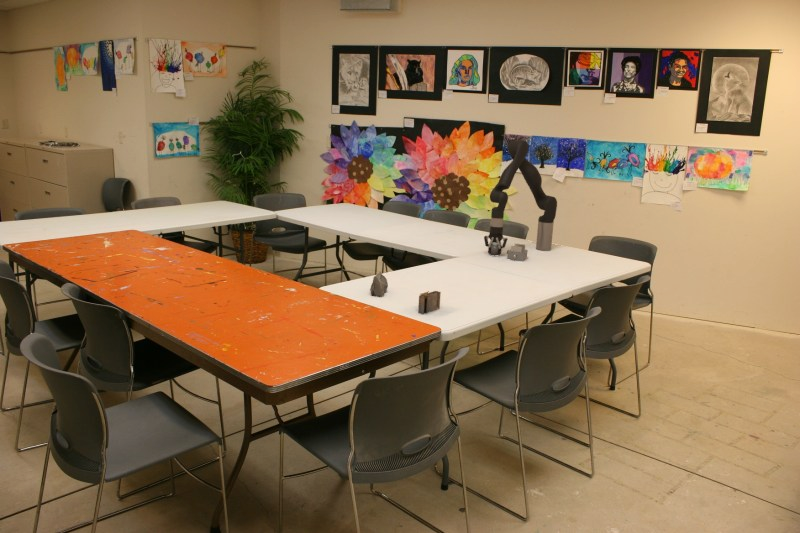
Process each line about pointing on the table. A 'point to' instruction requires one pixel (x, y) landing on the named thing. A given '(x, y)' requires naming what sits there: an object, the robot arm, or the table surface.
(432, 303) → the brown flat block
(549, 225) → the robot arm
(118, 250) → the table surface
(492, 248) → the pump
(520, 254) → the motor
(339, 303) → the table surface
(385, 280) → the mineral rock
